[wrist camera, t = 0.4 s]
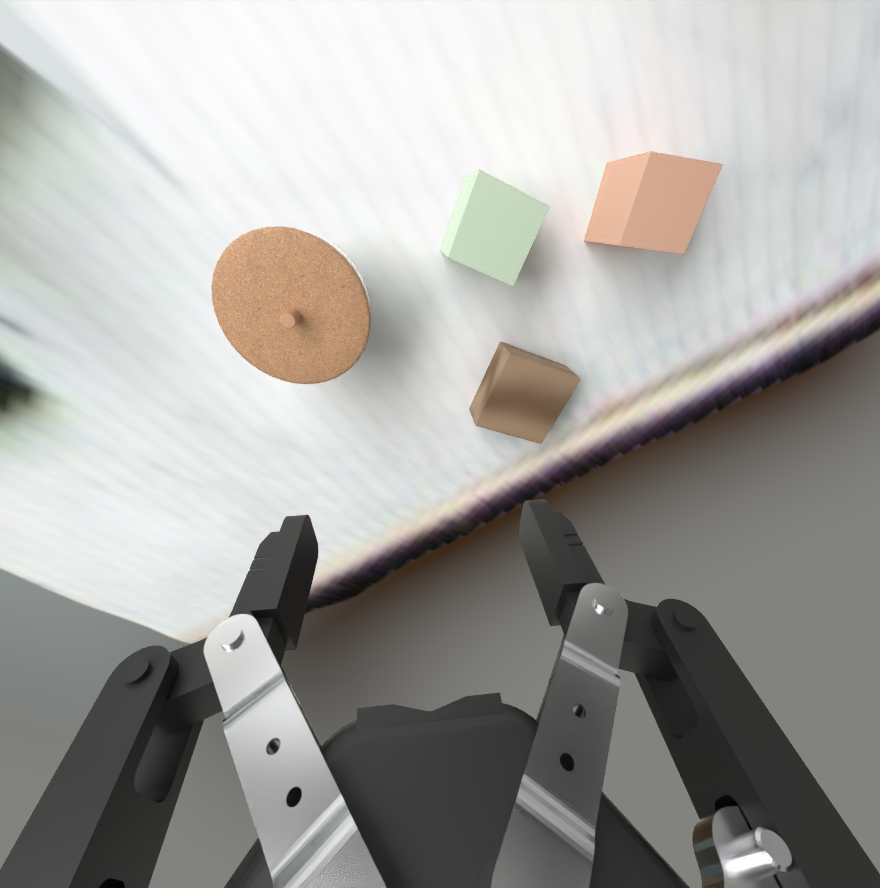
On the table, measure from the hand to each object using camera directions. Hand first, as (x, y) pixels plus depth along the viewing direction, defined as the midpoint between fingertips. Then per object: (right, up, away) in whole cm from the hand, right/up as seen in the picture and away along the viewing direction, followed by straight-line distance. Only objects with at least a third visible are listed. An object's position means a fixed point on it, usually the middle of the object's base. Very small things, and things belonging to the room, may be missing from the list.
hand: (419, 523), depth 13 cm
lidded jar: (-10, +17, +18) cm, 27 cm away
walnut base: (+9, +9, +25) cm, 29 cm away
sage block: (+4, +21, +17) cm, 27 cm away
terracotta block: (+17, +23, +17) cm, 33 cm away
